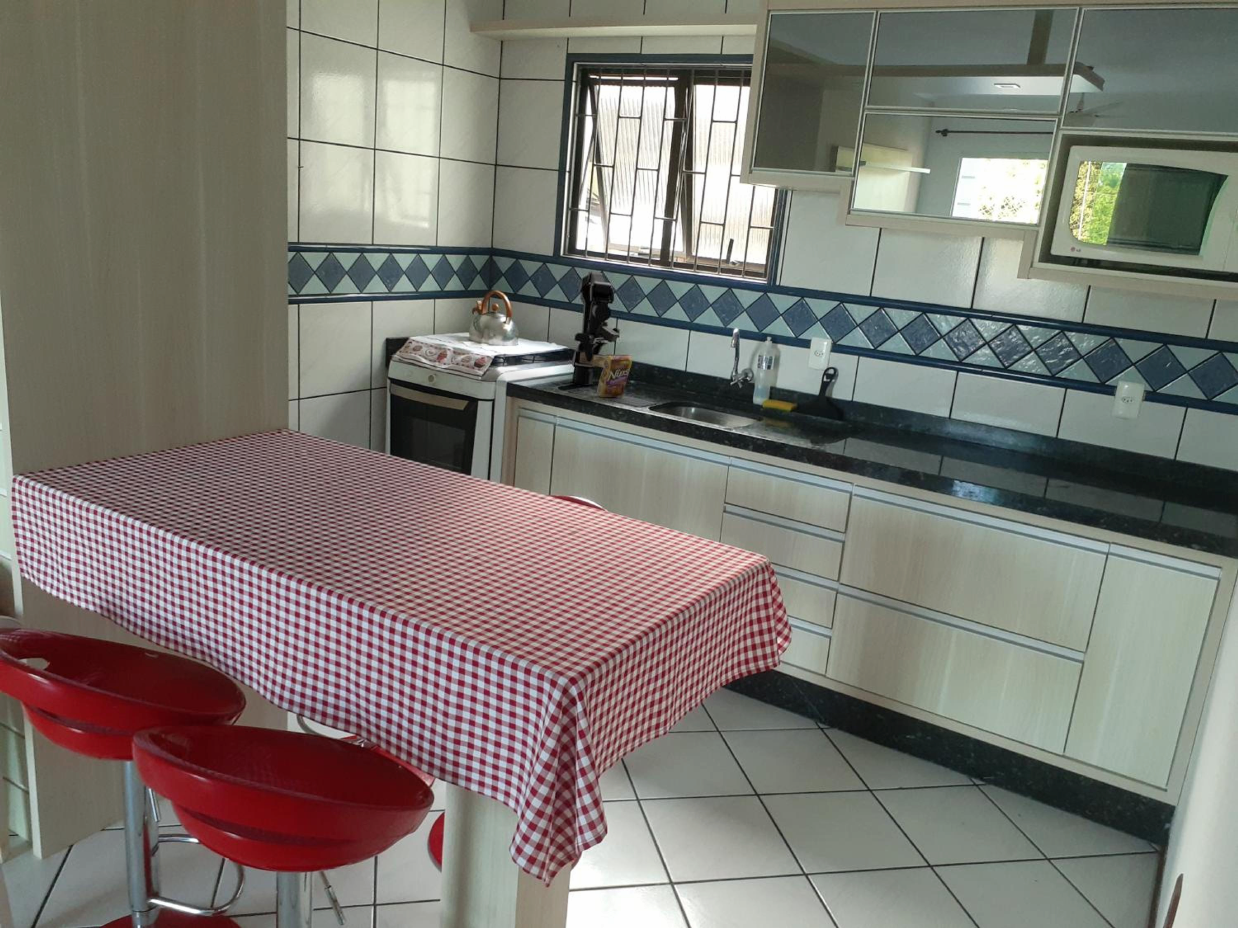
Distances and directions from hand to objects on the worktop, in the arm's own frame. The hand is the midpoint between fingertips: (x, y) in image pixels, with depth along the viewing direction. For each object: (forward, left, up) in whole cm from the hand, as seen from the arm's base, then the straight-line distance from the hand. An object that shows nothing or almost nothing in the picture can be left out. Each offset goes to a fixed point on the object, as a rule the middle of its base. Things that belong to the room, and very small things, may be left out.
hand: (591, 361), depth 343 cm
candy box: (+9, 0, -10) cm, 14 cm away
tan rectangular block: (+2, 0, -1) cm, 2 cm away
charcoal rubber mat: (+19, 0, -11) cm, 22 cm away
